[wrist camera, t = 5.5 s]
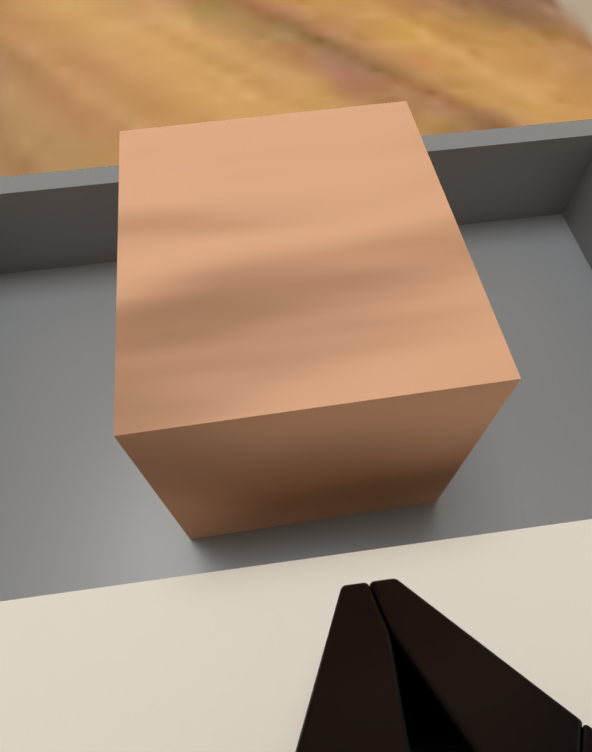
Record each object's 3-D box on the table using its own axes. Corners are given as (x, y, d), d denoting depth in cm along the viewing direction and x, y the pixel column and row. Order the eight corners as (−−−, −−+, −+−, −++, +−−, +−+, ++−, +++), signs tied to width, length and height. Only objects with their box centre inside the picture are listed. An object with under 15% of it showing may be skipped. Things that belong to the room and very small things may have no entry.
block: (520, 378, 9) (406, 101, 13) (113, 435, 9) (120, 131, 13) (436, 501, 16) (374, 284, 20) (190, 539, 15) (178, 309, 19)
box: (738, 520, 16) (861, 471, 12) (-112, 641, 14) (-244, 624, 11) (568, 207, 22) (617, 116, 19) (-30, 271, 21) (-97, 186, 17)
